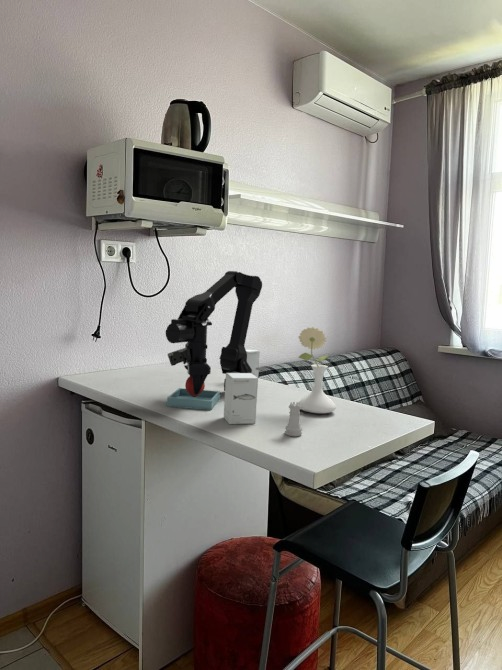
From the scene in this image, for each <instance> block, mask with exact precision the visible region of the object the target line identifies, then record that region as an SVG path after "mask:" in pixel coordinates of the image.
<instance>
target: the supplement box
mask: <svg viewBox="0 0 502 670" xmlns="http://www.w3.org/2000/svg"><path fill="white" fill-rule="evenodd" d="M225 378H226V381H225V391H224V393H225V394H224V402H223V418H224V419H225V421H226V422H227V423H228V424H229V425H239V424H240V425H241V424H242V425H244V424H245V425H246V424H249V425H250V424H251V425H253V424H256V421H257V419H256V418H257V404H258V403H257V402H258V399H257V398H258V389H259V388H258V387H259V377H258V378H257V377H256V376H254V375H253V374H252V373H226V374H225Z"/></svg>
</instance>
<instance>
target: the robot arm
mask: <svg viewBox="0 0 502 670" xmlns="http://www.w3.org/2000/svg"><path fill="white" fill-rule="evenodd" d="M234 288H235V290H234V291H235V295H236V298H237V304H236V309H235V314H234V319H233V325H232V329H231V334H230V339H229V343H227V345H226V346H222V347H221V349H220V351H221V353H220V356H219V364H220V365H219V366H220V367H221V368H220V369H221V372H222V374H224V375H226V373H251V372H252V369H251V368H250V366H249V364H248V363H247V353H246V350H247V349H246V347H245V345H246V340H247V334H248V330H249V324H250V321H251V320H250V319H251V315H252V309H253V304H254V302H256V301H257V299H258V298H259V297H260V294H261V291H262V288H263V282H262V280H261V278H260V277H259V276H257V275H250V274H246V273H243V272H240V271H236V270H228V271H226V272H225V273H224V274H223V276H222V277H221V278H220V279H218V280H217V281H216V282H214V284H212V285H211V286H210V287H209V288H208V289H206V291H203V292H202V293H199V294H196V295H193V296H192V297H190V298H188V299H187V301H186V302H185V304H184V307H183V308H182V310H181V312H180V313H179V316H178V318H171V320H170V323H169V324H168V325H167V327H166V330H165V336H166V340H167V341H168V342H169V343H171V344H180V343H185V347H183V348H180V349H176V350H174V351H171V352H169V353H167V358H168V360H169V364H170V366H172V367H173V366H176V365H177V364H180V363H182V364H183V367H184V368H185V370H187V374H188V375H189V376H191V377H192V381H193V388H194V394H198V393H199V391H200V389H201V387H202V385H203V383H205V381H206V379H207V378H208V375H211V368H212V367H211V366H210V365H209V364H208V359H207V349H208V344H207V340H208V339H207V338H208V337H207V335H208V326H212V325H213V323H212V321H210V320H209V317H210V316H211V315H212V313H213V312H215V309H216V305H217V303H219V302H220V301H221V300H222V299H223V298H224V297H225V296H226V295H228V294H229V292H231V291H232V289H234ZM223 381H224V382H223V383H224V384H223V391H224V395H225V381H226V377H225V378H224V380H223Z"/></svg>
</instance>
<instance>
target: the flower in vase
mask: <svg viewBox="0 0 502 670" xmlns="http://www.w3.org/2000/svg"><path fill="white" fill-rule="evenodd" d="M298 339H299V342H300V344H301V346H303V347H304V348H308V349H310V353H308V352H303V353H301V354H300V355H299V356H298V358H299V359H302V360H305V361H310V360H311V359H313V361H314V363H315V364H311V365H310V367H311V368H312V370H313V374H314V385H313V389H312V390H311V391H310V393H309V392H308V394H306V395H305V396H304V397H302V398H301V399H300V400H299V401H298V404H299V403H300V406H301V407H302V408H301V409H300V410H302V411H304V412H308V413H311V414H330V413H332V412H335V410H336V409H337V407H336V404H335V402H334V401H333V400H332V399H331V398H330V397H328V396H327V394H326V393H325V392H324V391H323V378H324V375H325V372H326V371H327V370H328V367H329V366H328V365H324V364H319V363H318V362H322V361H324V360H326V359H328V357H329V354H327V355H324V356H320V357H319V358H318V359H317V360H316V359H315V357H314V355H313V350H315V349H320V348H323V347H324V345H325V343H326V342H327V340H326V339H327V338H326V335H325V333H324V331H323V330H319V328H318V327H317V328H315V327H314V326H312V327H307V328H304V329H302V330H301V331H300V333H299V336H298Z"/></svg>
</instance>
